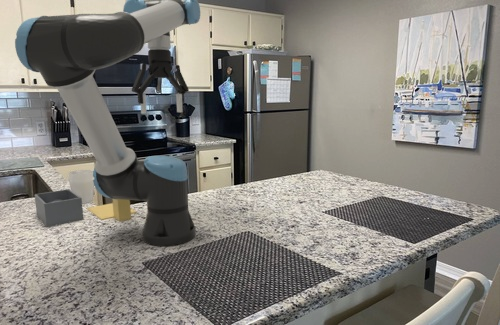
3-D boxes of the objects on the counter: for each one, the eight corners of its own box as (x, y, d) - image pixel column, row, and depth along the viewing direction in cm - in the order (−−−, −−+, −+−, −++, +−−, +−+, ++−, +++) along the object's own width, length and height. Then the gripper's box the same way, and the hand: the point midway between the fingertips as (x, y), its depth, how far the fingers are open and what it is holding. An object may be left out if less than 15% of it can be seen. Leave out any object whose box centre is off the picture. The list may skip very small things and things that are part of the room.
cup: (100, 199, 150) (98, 170, 148) (89, 206, 141) (86, 175, 139) (79, 199, 151) (76, 169, 149) (66, 205, 142) (63, 174, 140)
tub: (83, 221, 125) (81, 197, 124) (46, 228, 118) (44, 204, 117) (71, 210, 136) (69, 189, 135) (37, 216, 130) (34, 194, 128)
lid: (143, 217, 128) (141, 195, 127) (106, 225, 121) (104, 201, 119) (120, 204, 144) (118, 183, 143) (86, 210, 137) (85, 189, 135)
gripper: (186, 52, 138) (188, 111, 142) (118, 48, 123) (123, 113, 127) (197, 51, 133) (198, 112, 137) (127, 46, 117) (132, 114, 121)
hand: (162, 113), depth 132 cm, fingers open, 13 cm apart
